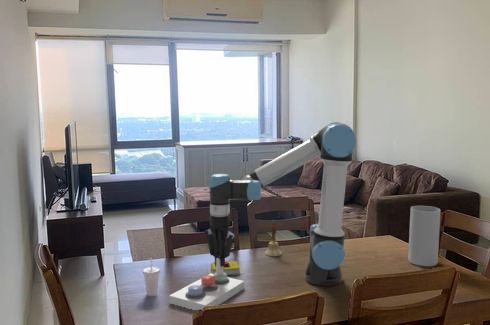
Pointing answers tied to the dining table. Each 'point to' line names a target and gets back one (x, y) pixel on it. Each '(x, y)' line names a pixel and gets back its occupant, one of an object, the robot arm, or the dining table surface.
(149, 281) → the smoothie
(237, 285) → the button panel
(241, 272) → the emergency button
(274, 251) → the hand bell
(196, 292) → the slate-blue button
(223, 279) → the sage-green button
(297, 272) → the dining table surface
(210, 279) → the red button
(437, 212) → the cylinder vase
